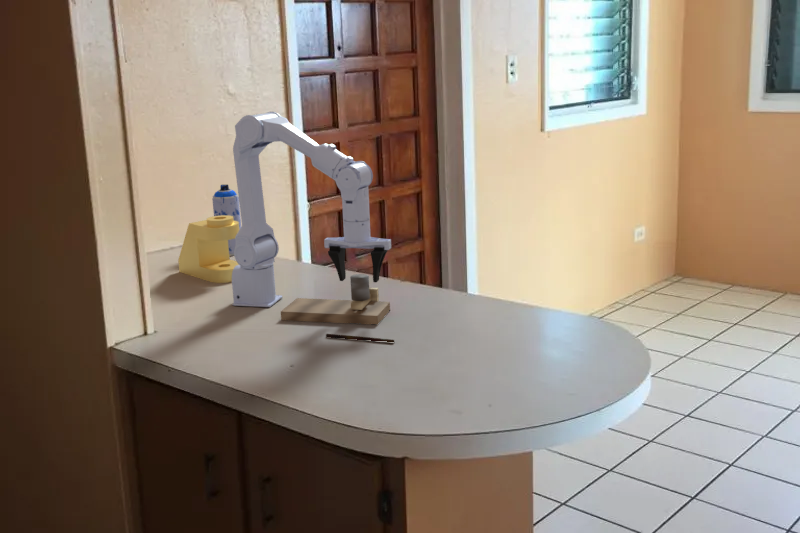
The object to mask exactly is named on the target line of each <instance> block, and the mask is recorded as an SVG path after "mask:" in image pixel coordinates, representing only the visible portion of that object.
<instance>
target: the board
mask: <svg viewBox="0 0 800 533" xmlns="http://www.w3.org/2000/svg"><path fill="white" fill-rule="evenodd" d="M352 301H353V300H352V299H350V300H349V299H327V298H306V297H305V298H304V297H303V298H302V297H297V298H295V299H294V300H293V301H291V302H290V303H289V304H288V305H287V306H286V307H284V308H283V309H282V310H280V320H281V321H287V320H288V321H289V322H291V321H292V322H311V323H312V322H314V323H329V322H331V323H334V324H350V323H358V324H357V325H371V324H378V323H379V322H380V321H381V320H382V321H383V320H384V318H385V317H386V316H387V315H388V314H387V313H390V311H391V302H390V301H380V300H379V301H370V302H369V303H368V304H367V305H366V306H365V307H364V308H363V309H362V310H352V309H351V302H352ZM389 310H390V311H389ZM386 314H387V315H386ZM385 315H386V316H385ZM384 316H385V317H384ZM382 321H381V322H382ZM381 322H380V323H381ZM359 323H361V324H359ZM380 323H379V324H380ZM379 324H378V325H379Z"/></svg>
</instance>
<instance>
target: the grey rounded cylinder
mask: <svg viewBox="0 0 800 533" xmlns="http://www.w3.org/2000/svg"><path fill="white" fill-rule="evenodd" d="M369 276H370V275H368V274H365V273H357V274H353V275H350V277H349V278H350V293H351V294H350V295H351V300H353V301H352V302H351V309H352V310H362V309H363V308H364V307H365V306H366V305H367V304H368V303H369V302H370V301H380V296H379V287H370V279H369V278H370V277H369Z"/></svg>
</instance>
